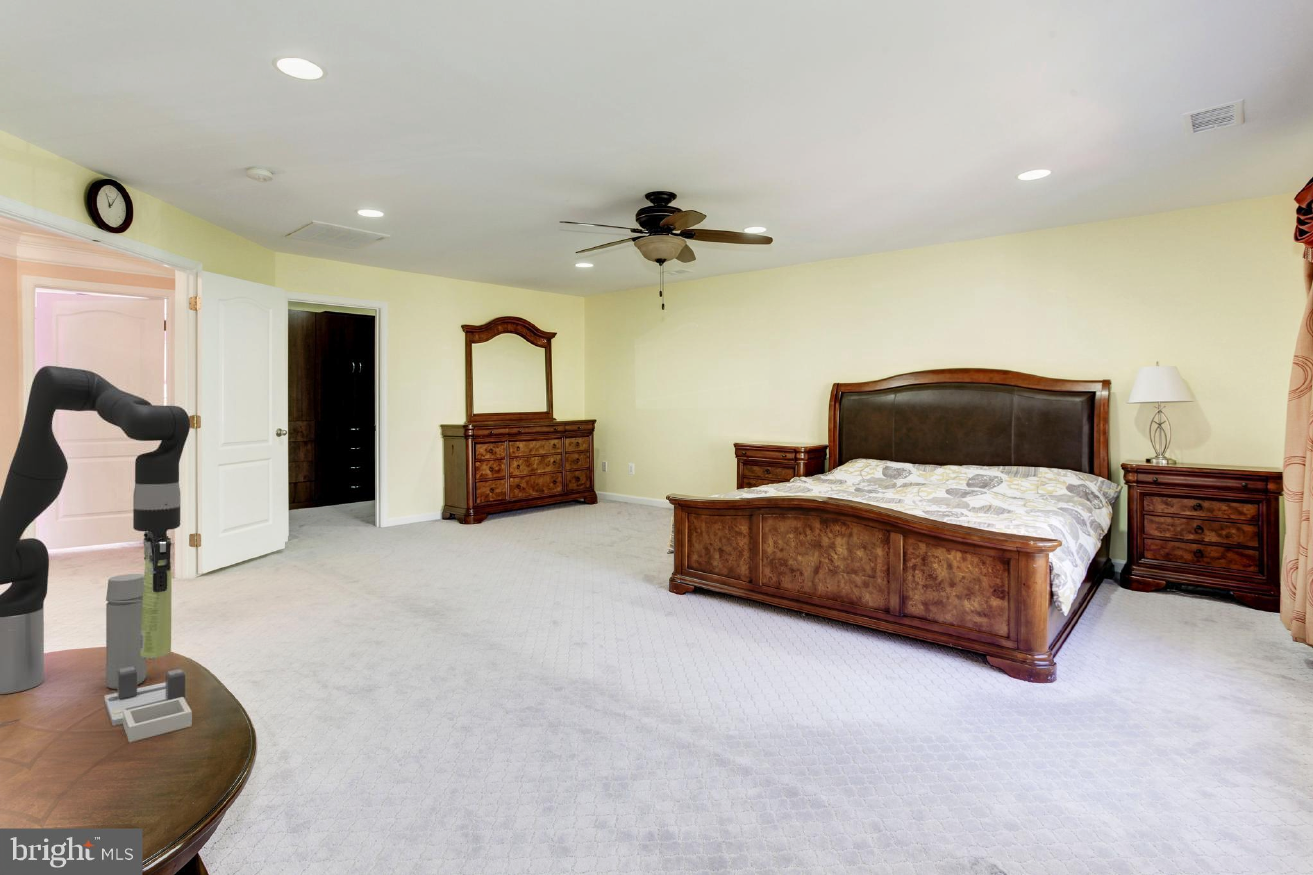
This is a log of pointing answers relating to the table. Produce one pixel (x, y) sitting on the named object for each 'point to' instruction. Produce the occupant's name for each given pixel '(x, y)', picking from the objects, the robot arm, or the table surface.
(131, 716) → the frame
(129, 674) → the block
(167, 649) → the tube
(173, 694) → the block
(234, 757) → the table surface
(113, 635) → the water bottle
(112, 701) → the breaker panel
